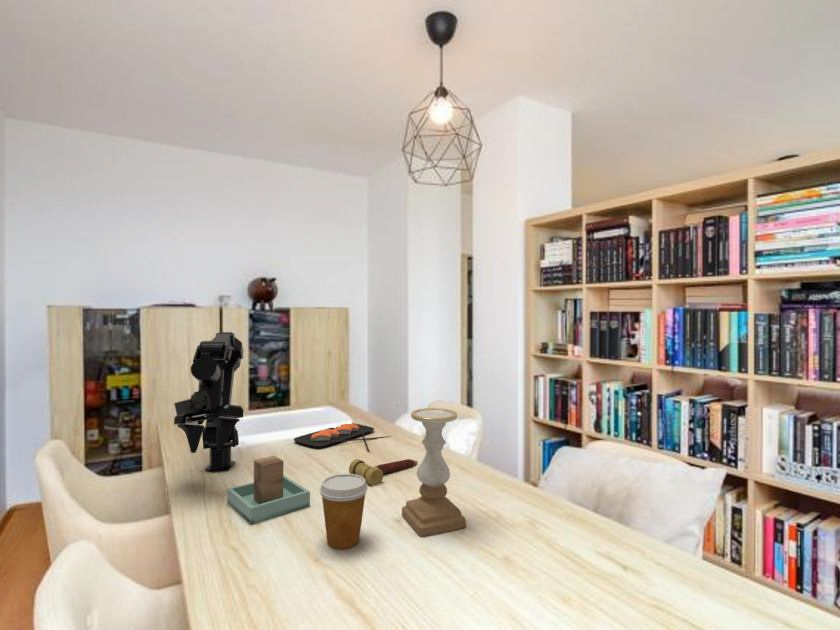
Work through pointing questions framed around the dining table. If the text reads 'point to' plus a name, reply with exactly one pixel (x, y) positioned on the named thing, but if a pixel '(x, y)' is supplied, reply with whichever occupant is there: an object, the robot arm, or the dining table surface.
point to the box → (254, 512)
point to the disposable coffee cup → (343, 509)
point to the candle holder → (433, 480)
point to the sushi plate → (336, 435)
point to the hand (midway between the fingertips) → (206, 451)
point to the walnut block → (268, 479)
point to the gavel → (378, 469)
